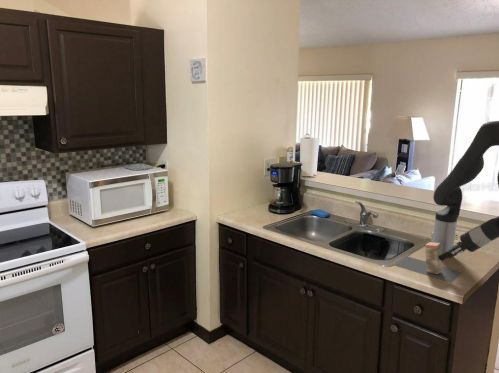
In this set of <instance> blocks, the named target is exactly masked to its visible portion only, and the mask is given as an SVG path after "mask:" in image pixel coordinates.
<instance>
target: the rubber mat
mask: <svg viewBox="0 0 499 373" xmlns="http://www.w3.org/2000/svg"><path fill="white" fill-rule="evenodd" d="M394 266H395V267H398V268H401V269H405V270H409V271H412V272H415V273H418V274H422V275H425V276H427V277H431V278H435V279H439V280H441V281H445V282H447V283H453V282H454V281H455V280H456V279H457V278H458V277H459V276H460V275H461V274H462V273H463V271H460V270H458V269H453V268H451V267H447V266H443V265H441V270H442V271H441V272H440V273H438V274H434V273H428V272H427V268H426V260H421V259H418V258H414V257H411V256H405V257H403V258H402V259H401V260H399V261H397V262H396V263H395V264H394Z"/></svg>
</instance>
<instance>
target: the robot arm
mask: <svg viewBox="0 0 499 373" xmlns="http://www.w3.org/2000/svg"><path fill="white" fill-rule="evenodd" d="M495 146H496V147H497V146H499V120H495V121H487V122H485V123H483V124H482V125H481V126H480V127H479V128H478V130H477V132H476V134H475V136H474V138H473V139H472V142H471V143H470V145H469V146H468V148H466V150H465V152H464V153H463V154H462V156H461V158H459V160H458V161H457V162H456V164H455V166H454V167H453V169H451V171H450V172H449V174H448V175H447V177H445V178H444V179H443V181H441V182H440V183H439V185H437V187H436V188H435V190H434V191H433V192H434V193H433V197H432V198H433V202H434V203H435V204H436V205H438V206H442V207H445V208H443V209H441V210H439V211H436V212H435V217H434V226H433V231H432V232H431V237H430V238H431V239H430V242H433V243H440V246H441V255H440V256H439V259H440V260H441V262H442V261H443V262H444V260H447V259H450V258H453V257H455V256H458V255H459V254H463V253H464V252H465V251H466V250H467V251H468V252H470V253H473V252H476V251H477V250H480V249H481V248H483V247H485V246H487V245H489V244H490V243H491V242H492V241H495V240H496V239H498V238H499V216H497V217H494V218H491V219H488V220H487V221H485V222H484V223H482V224H480V225H477V226H475V227H473V228H471V229H470V230H468V231H466V232H465V233H463V234H462V235H460V237H459V240H460V241H458V242H456V244H455V239H456V232H457V223H458V218H459V216H460V212H461V206H462V202H463V191H462V188H461V187H463V186H465V185H467V184H469V183H470V182H473V181H474V180H475V179H476V178H477V177H478V176H479V174H480V173H481V172H482V170H483V168H484V165H485V160H484V159H485V158H484V155H485V153H486V152H488V150H489V149H490V148H492V147H495ZM497 172H498V173H497V179H496V180H497V186H498V188H499V171H497Z"/></svg>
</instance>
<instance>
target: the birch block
mask: <svg viewBox="0 0 499 373" xmlns="http://www.w3.org/2000/svg"><path fill="white" fill-rule="evenodd" d="M424 246H425V261H426V268H427V272H428V273H434V274H438V273H440V272H441V271H442V270H441V266H442V261H441V260H440V259H439V256H440V255H441V246H440V243H433V242H431V241H429V242H427V243H426V244H425V245H424Z"/></svg>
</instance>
